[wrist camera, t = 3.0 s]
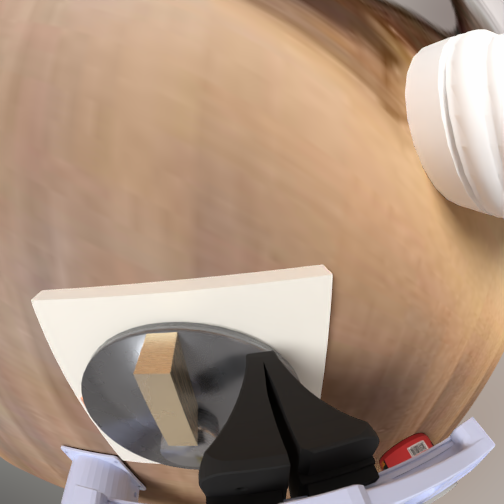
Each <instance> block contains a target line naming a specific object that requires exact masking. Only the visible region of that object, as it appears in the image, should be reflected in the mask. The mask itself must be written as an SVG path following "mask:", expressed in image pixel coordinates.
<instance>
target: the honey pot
mask: <svg viewBox="0 0 504 504" xmlns="http://www.w3.org/2000/svg"><path fill="white" fill-rule="evenodd" d="M405 99H406V109H407V120H408V124H409V127H410V131H411V135H412V140H413V144H414V147H415V149H416V152H417V154H418V156H419V159H420V161H421V164H422V167H423V169H424V170H425V172H426V174H427V175H428V177H429V178H430V180H431V182H432V183H433V185H434V187H435V188H436V189H437V190H438V191H439V192H440V193H441V194H442V195H443V196H444V197H445V198H446V199H447V200H449V201H451V202H453V203H455V204H457V205H459V206H462V207H465V208H469V209H472V210H475V211H478V212H482V213H485V214H488V215H494V216H495V217H497V218H498V217H502V218H503V219H504V34H500V35H497V34H495V33H493V32H490V31H488V30H474V31H468V32H467V33H464V34H460V35H458V36H454V37H450V38H448V39H445V40H442V41H439V42H437V43H434V44H431V45H429V46H426V47H424V48H422V49H421V50H420V51H419V52H418V53H417V54H416V55H415V56H414V57H413V59H412V62H411V64H410V67H409V70H408V72H407V80H406V90H405Z"/></svg>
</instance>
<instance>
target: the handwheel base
mask: <svg viewBox="0 0 504 504" xmlns="http://www.w3.org/2000/svg"><path fill="white" fill-rule="evenodd" d="M332 279H333V274H332V273H331V272H330V271H329V270H328V269H327V268H326V267H325V266H324V265H315V266H306V267H298V268H289V269H280V270H271V271H262V272H253V273H243V274H234V275H224V276H214V277H204V278H193V279H183V280H172V281H161V282H149V283H137V284H125V285H112V286H99V287H85V288H71V289H55V290H42V291H41V292H40V293H38V294H37V295H36V296H35V297H34V298H33V299H32V300H31V302H32V305H33V308H34V310H35V313H36V315H37V318H38V320H39V323H40V325H41V328H42V330H43V332H44V335H45V337H46V339H47V341H48V344H49V346H50V348H51V350H52V352H53V354H54V356H55V358H56V360H57V362H58V364H59V366H60V368H61V370H62V372H63V374H64V375H65V377H66V379H67V381H68V383H69V384H70V386H71V388H72V389H73V391H74V393H75V395H76V396H77V398H78V399H79V401H80V403H81V404H82V406H83V407H84V409H85V410H86V412H87V413H88V411H87V409H86V407H85V404H84V402H83V397H82V393H81V382H82V377H83V373H84V371H85V369H86V367H87V365H88V363H89V361H90V359H91V357H92V355H93V354H94V353H95V351H96V350H97V349H98V347H99V346H101V345H102V344H103V343H104V342H105V341H106V340H108V339H109V338H111V337H113V336H115V335H116V334H118V333H120V332H123V331H125V330H128V329H131V328H134V327H138V326H142V325H146V324H154V323H162V322H189V323H201V324H207V325H212V326H218V327H223V328H226V329H230V330H233V331H237V332H240V333H242V334H245V335H247V336H250V337H252V338H255V339H257V340H258V341H260V342H262V343H264V344H266V345H268V346H269V347H271V348H272V349H273V350H275V351H276V352H278V353H279V354H280V355H281V356H282V357H283V358H284V359H286V360H287V361H288V362H289V364H290V365H291V366H292V368H293V369H294V370H295V372H296V374H297V376H298V378H299V380H300V382H301V384H302V385H303V386H304V387H306V388H307V389H308V390H309V391H310V392H311V393H313V394H314V395H315V396H317V397H318V398H319V399H320V398H321V391H322V384H323V377H324V369H325V361H326V352H327V343H328V333H329V322H330V310H331V296H332ZM88 415H89V416H90V414H89V413H88ZM90 418H91V416H90ZM91 419H92V418H91ZM92 421H93V419H92ZM93 422H94V421H93ZM94 424H95V425H96V427H97V428H98V429H99V431H100V432H101V433H102V435H103V436H104V437H105V439H106V440H107V441H108V443H109V444H110V445H111V447H112V448H113V449H114V450H115V452H116V453H117V454H118V455H119V456H120V458H121V459H122V460H124V461H133V462H143V463H156V464H160V463H157V462H154V461H151V460H148V459H146V458H143V457H141V456H139V455H136V454H134V453H132V452H130V451H129V450H127V449H125V448H123V447H122V446H120V445H119V444H117V443H116V442H115V441H113V440H112V439H111V438H110V437H108V436H107V435H106V434H105V433H104V432H103V431H102V430H101V429H100V428H99V427H98V426H97V424H96V423H95V422H94Z"/></svg>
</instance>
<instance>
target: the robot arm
mask: <svg viewBox="0 0 504 504" xmlns="http://www.w3.org/2000/svg"><path fill="white" fill-rule="evenodd" d="M378 444H379V438H378V436H377V434H376V433H375V431H374V430H373V429H372V427H371V426H370V425H369V424H368V422H365V421H362V420H359V419H357V418H354V417H351V416H349V415H347V414H345V413H343V412H341V411H339V410H337V409H335V408H334V407H332V406H330V405H328V404H327V403H325V402H324V401H322V400H321V399H319V398H318V397H317V396H315V395H314V394H313V393H311V392H310V391H309V390H308V389H307V388H306V387H304V386H303V385H302V384H301V383H300V382H299V381H298V380H297V379H296V378H295V377H294V376H293V375H292V374H291V372H290V371H289V370H288V369H287V368H286V367H285V365H284V364H283V363H282V362H281V360H280V359H279V358H278V356H277V355H276V353H275V352H274V351H266V352H258V353H250V354H247V355H246V368H245V374H244V379H243V383H242V387H241V390H240V393H239V396H238V398H237V401H236V404H235V406H234V408H233V410H232V412H231V414H230V416H229V418H228V420H227V422H226V424H225V425H224V427H223V428H222V430H221V431H220V433H219V434H218V436H217V437H216V439H215V440H214V441H213V442H212V444H211V445H210V446H209V447H208V448H207V450H206V451H205V452H204V455H203V458H202V461H201V464H200V468H199V486H200V488H201V489H202V491H203V492H204V494H205V495H206V504H423V503H424V502H426V501H428V500H429V499H431V498H433V497H434V496H436V495H437V494H439V493H440V492H442V491H443V490H445V489H446V488H448V487H449V486H451V485H452V484H454V483H455V482H456V481H458V480H459V479H461V478H462V477H463V476H465V475H466V474H467V473H469V472H470V471H471V470H473V469H474V468H475V467H476V466H477V465H478V463H480V462H481V460H482V459H484V457H485V456H486V455H487V454H488V453H489V452H490V451H491V450H492V449H493V448H494V447H495V444H494V442H493V441H492V440H491V439H490V437H489V436H488V435H487V433H486V432H485V431H484V430H483V429H482V427H481V426H480V425H479V424H478V422H477V421H476V420H475V419H474V417H471V418H469V419H468V420H466V421H465V422H464V423H462V424H460V425H459V426H458V427H457V428H455V430H454V431H453V432H452V433H451V435H450V437H448V438H447V439H445V440H443V441H442V442H440V443H438V444H437V445H435V446H433V447H431V448H429V449H428V450H426V451H424V452H422V453H420V454H418V455H416V456H414V457H412V458H410V459H408V460H406V461H404V462H402V463H400V464H397V465H395V466H393V467H391V468H388V469H386V470H384V471H381V472H379V473H378V472H377V470H376V468H375V466H374V464H375V460H374V458H373V454H374V452H375V450H376V448H377V447H378ZM61 449H62V450H63V452H64V453H65V454H66V455H67V456H68V457H69V458H70V459H71V460H72V461H73V462H72V465H71V468H70V472H69V475H68V479H67V482H66V486H65V490H64V494H63V498H62V502H61V504H144V503H138V498H139V490H146V487H145V486H144V485H143V484H142V483H141V482H140V481H139V480H138V479H137V478H136V477H135V475H134V474H133V473H132V472H131V471H130V470H129V469H128V468H127V467H126V466H125V464H124V463H123V462H122V461H121V460H120V459H119V458H118V457H117V456H113V455H106V454H100V453H95V452H89V451H84V450H80V449H75V448H71V447H67V446H61ZM288 486H289V491H290V497H291V498H290V499H286V492H287V489H288Z"/></svg>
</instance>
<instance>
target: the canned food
mask: <svg viewBox="0 0 504 504" xmlns="http://www.w3.org/2000/svg"><path fill="white" fill-rule="evenodd" d="M433 446H434V445H433V444H432V442H431V441H430V439H429V438H428V436H426V435H425V434H424V433H418V434H414V435H412V436H410V437H408V438H406V439H404V440H403V441H401V442H399V443H398V444H396V445H395V446H393V447H392V448H391V449H390V450H388V451H387V452H386V453H385V454H384V455H383V456H382V457H381V459H380V467H381V469H382V471H384V470H386V469H388V468H391V467H393V466H395V465H397V464H400V463H402V462H404V461H406V460H408V459H410V458H412V457H414V456H416V455H418V454H420V453H422V452H424V451H426V450H428V449H429V448H431V447H433ZM455 485H457V481H456V482H455V483H454V484H452V485H451V486H449V487H448V488H446V489H445V490H443V491H442V492H440V493H439V494H437V495H436V496H434V497H433V498H431V499H429V500H428V501H426V502H424V503H423V504H431V503H432V502H434V501H436V500H437V499H439V498H440V497H442V496H443V495H444V494H446V493H447V492H448V491H450V490H451V489H452V488H453V487H455Z"/></svg>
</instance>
